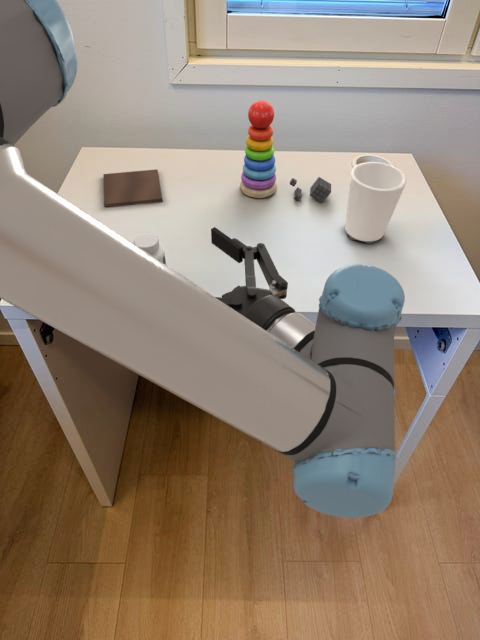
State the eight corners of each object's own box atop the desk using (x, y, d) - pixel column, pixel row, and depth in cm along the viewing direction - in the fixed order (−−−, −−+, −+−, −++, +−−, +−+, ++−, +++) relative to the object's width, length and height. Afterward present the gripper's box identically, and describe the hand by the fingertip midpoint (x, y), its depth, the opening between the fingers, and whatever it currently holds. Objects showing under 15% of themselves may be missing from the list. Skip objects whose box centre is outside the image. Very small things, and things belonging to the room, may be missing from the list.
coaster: (104, 207, 97) (104, 204, 96) (104, 177, 105) (103, 173, 104) (162, 201, 99) (162, 198, 98) (157, 172, 106) (157, 169, 106)
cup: (399, 236, 92) (418, 178, 83) (365, 255, 88) (381, 196, 78) (361, 213, 97) (376, 155, 88) (328, 229, 93) (339, 171, 84)
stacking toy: (282, 187, 103) (291, 100, 90) (264, 203, 99) (270, 115, 85) (252, 176, 106) (256, 90, 92) (233, 192, 101) (234, 104, 88)
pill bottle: (151, 266, 85) (144, 225, 78) (173, 276, 83) (169, 236, 76) (131, 282, 82) (123, 242, 75) (154, 294, 80) (148, 253, 73)
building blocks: (331, 192, 97) (299, 173, 95) (315, 210, 101) (284, 193, 99) (331, 184, 99) (299, 165, 97) (316, 202, 103) (285, 185, 101)
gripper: (202, 407, 56) (109, 310, 66) (337, 308, 67) (240, 239, 78) (199, 369, 50) (98, 270, 61) (347, 269, 62) (240, 200, 72)
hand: (177, 253), depth 69 cm, fingers open, 13 cm apart
